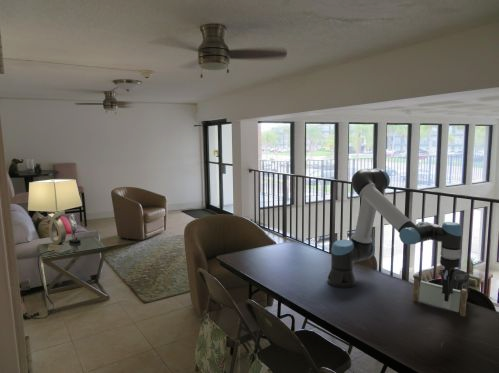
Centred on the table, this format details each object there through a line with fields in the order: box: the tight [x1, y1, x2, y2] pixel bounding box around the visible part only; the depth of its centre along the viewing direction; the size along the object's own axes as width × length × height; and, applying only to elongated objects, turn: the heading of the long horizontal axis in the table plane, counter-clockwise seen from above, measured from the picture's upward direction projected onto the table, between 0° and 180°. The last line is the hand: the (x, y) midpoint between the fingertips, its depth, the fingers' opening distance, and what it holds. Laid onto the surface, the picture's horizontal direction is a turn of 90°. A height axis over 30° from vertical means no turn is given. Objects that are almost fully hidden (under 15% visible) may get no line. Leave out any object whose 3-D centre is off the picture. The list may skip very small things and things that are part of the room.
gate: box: [418, 280, 461, 313], centre depth 165 cm, size 17×2×10 cm, turn 46°
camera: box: [440, 268, 471, 303], centre depth 172 cm, size 10×11×15 cm
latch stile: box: [459, 289, 468, 317], centre depth 158 cm, size 2×2×12 cm
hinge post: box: [412, 274, 421, 303], centre depth 172 cm, size 3×3×13 cm
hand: (446, 307), depth 159 cm, fingers closed
